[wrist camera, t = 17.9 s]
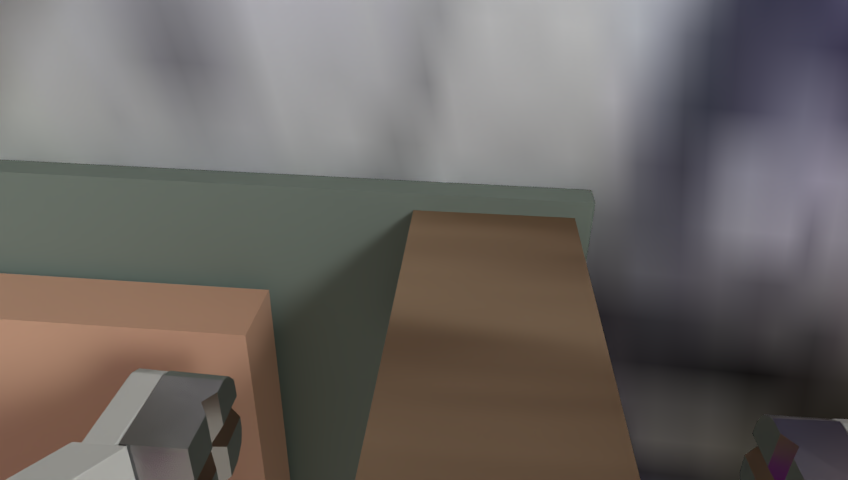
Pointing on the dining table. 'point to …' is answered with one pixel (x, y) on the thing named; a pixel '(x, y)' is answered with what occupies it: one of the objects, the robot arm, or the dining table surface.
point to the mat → (259, 263)
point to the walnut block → (495, 359)
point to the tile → (130, 359)
